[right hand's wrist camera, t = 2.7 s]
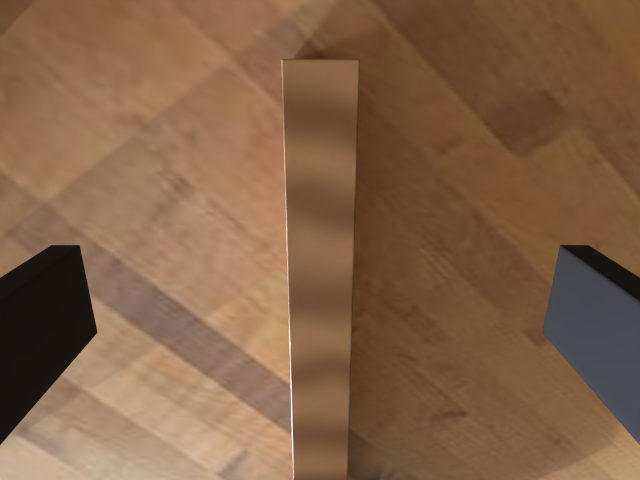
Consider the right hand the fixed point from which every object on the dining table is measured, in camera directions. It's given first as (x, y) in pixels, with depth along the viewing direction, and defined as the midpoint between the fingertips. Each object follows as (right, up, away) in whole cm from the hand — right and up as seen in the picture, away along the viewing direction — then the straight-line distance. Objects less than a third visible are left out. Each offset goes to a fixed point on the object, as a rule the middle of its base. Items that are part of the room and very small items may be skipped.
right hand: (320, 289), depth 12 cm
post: (0, -12, +32) cm, 34 cm away
